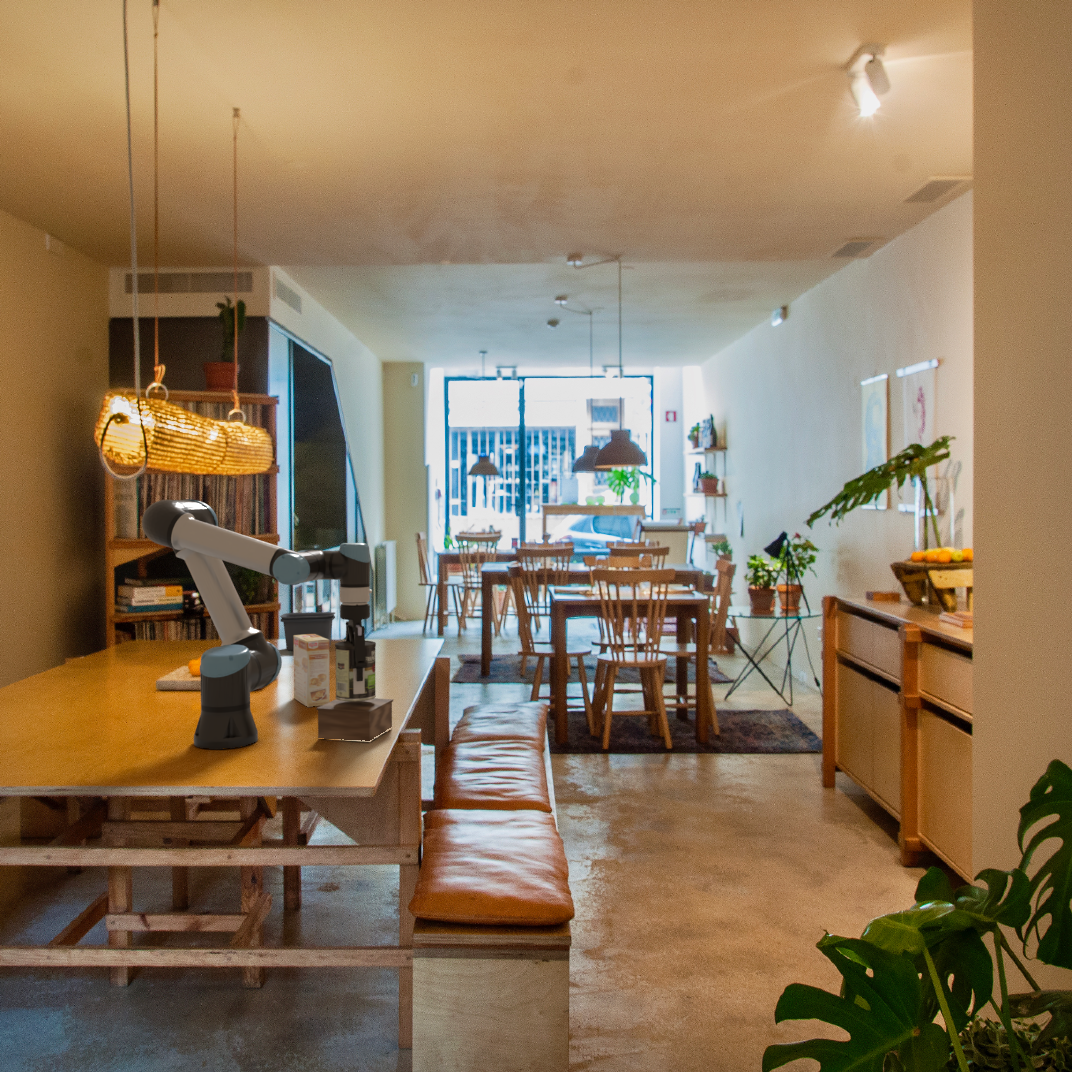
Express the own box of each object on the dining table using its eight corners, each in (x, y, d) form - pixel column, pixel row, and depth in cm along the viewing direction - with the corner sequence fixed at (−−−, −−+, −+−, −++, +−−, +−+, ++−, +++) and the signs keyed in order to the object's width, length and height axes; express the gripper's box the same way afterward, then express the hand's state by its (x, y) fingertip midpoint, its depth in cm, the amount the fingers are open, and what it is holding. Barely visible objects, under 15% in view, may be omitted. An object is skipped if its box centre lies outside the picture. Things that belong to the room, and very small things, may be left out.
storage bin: (278, 651, 370) (278, 616, 370) (285, 645, 386) (285, 611, 385) (332, 651, 372) (332, 615, 372) (337, 645, 388) (337, 611, 387)
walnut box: (370, 743, 229) (369, 711, 229) (316, 739, 233) (316, 708, 233) (393, 729, 244) (393, 699, 243) (342, 726, 247) (342, 696, 247)
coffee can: (381, 694, 242) (381, 640, 242) (366, 702, 232) (366, 646, 231) (344, 692, 244) (344, 639, 244) (328, 700, 234) (328, 645, 234)
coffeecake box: (330, 705, 273) (330, 639, 272) (306, 707, 269) (306, 641, 269) (316, 696, 286) (315, 633, 285) (293, 698, 282) (292, 634, 282)
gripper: (378, 607, 228) (378, 697, 229) (361, 598, 249) (362, 680, 250) (347, 608, 225) (347, 699, 226) (333, 599, 246) (333, 682, 247)
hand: (355, 689), depth 238 cm, fingers closed on coffee can, 10 cm apart
